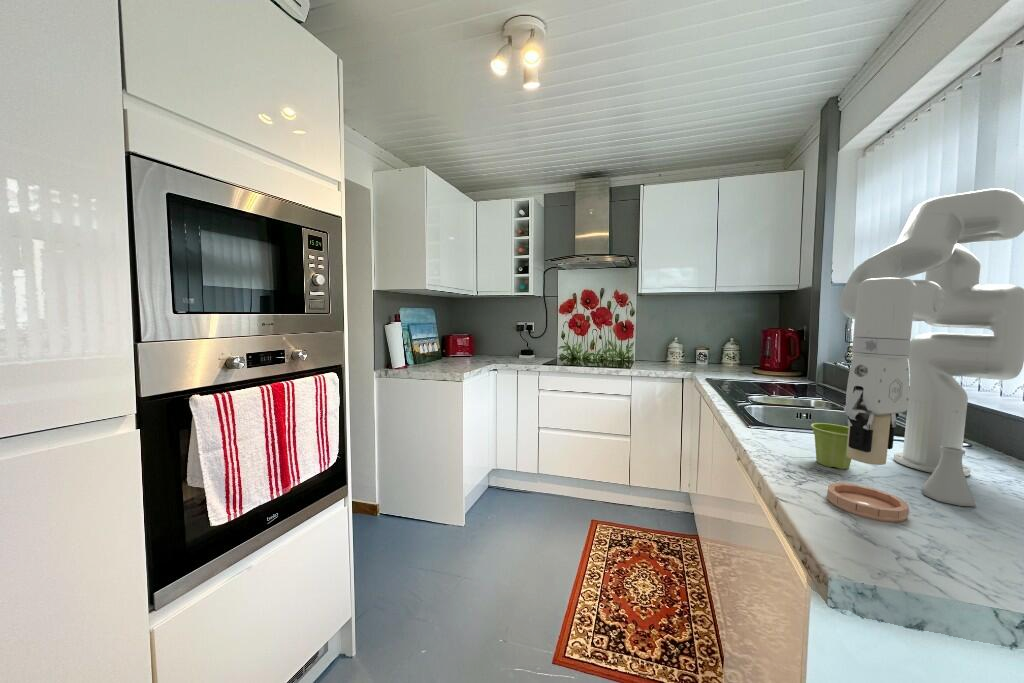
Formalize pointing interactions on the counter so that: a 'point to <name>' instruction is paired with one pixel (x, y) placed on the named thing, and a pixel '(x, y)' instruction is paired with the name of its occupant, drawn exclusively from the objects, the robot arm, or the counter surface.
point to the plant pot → (831, 445)
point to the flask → (949, 479)
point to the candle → (873, 442)
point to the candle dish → (867, 502)
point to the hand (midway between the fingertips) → (870, 447)
